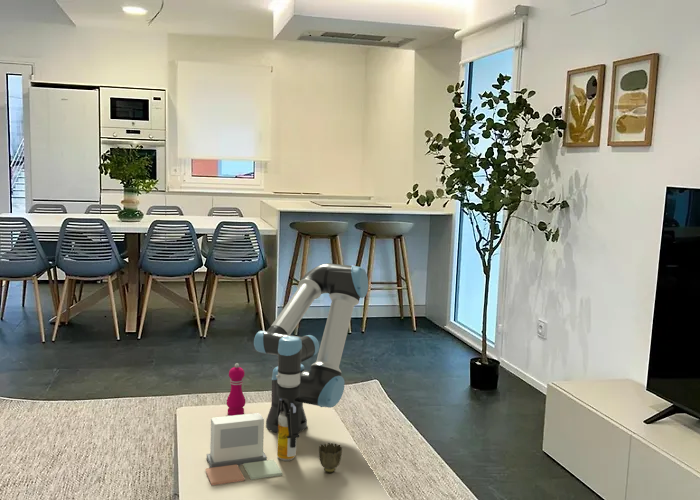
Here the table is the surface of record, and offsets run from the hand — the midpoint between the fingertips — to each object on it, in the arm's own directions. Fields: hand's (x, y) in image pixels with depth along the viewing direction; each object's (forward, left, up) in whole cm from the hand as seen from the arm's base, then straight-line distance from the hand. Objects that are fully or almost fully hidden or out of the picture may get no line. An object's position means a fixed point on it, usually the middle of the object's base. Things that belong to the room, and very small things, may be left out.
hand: (286, 449), depth 217 cm
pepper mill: (+7, -44, -3) cm, 45 cm away
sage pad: (+10, +7, -3) cm, 13 cm away
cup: (-10, +14, -3) cm, 17 cm away
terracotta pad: (+22, +7, -3) cm, 23 cm away
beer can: (0, 0, -3) cm, 3 cm away
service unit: (+16, -3, -3) cm, 17 cm away
